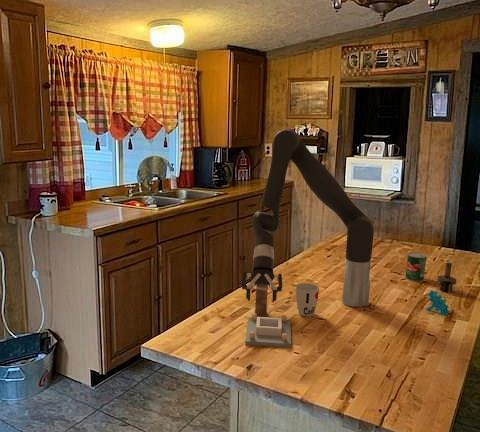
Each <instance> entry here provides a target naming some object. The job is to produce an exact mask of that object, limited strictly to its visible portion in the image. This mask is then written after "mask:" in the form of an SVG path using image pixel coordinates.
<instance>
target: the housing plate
mask: <svg viewBox="0 0 480 432" xmlns="http://www.w3.org/2000/svg"><path fill="white" fill-rule="evenodd" d="M287 317H288V316H287V315H286V314H285V315H281V317H279V318H278V317H269V316H268V317H267V316H266V317H258V316H257V314H255V313H251V317H248V321H247V327H246V333H245V340H244V344H245V346H259V347H260V346H261V347H262V346H263V347H277V348H292V336H291V334H292V333H291V331H292V330H291V320H290V319H288V318H287Z"/></svg>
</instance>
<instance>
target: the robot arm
mask: <svg viewBox="0 0 480 432" xmlns="http://www.w3.org/2000/svg"><path fill="white" fill-rule="evenodd" d="M290 162H292V163H293V164H294V165H295V167H296V168H297V169H298V171H299V172H300V174H301V176H302V178H303V180H304V182H305V183H306V185H307V186H308V188H309V189H310V190H311V191H312V193H313V194H314V195H315V196H316V197H317V199H318V200H320V202H322V203H323V204H324V205H325V206H327V208H329V209H331V211H333V212H334V213H335V214H336V215H337V216H338V218H340V220H341V221H342V223H343V224H344V226H345V227H346V229H347V233H346V244H345V245H346V247H345V258H344V259H345V260H344V261H345V262H344V273H343V284H342V297H341V298H342V299H341V301H342V303H343V304H344V305H346V306H349V307H351V308H353V307H354V308H363V307H369V300H370V289H371V281H370V275H371V274H370V273H371V261H372V253H373V245H374V233H375V232H374V230H375V229H374V225H373V224H374V223H373V222H372V220H371V219H370V218H369V217H368V216H367V215H366V214H365V213H363V212H362V210H361V209H360V208H358V206H356V205H355V203H354V202H353V201H352V200H351V198H350V197H349V195H348V194H347V192H346V191H345V190H344V189H343V187H342V186H341V185H340V183H339V182H338V181H337V180H336V178H335V177H334V176H333V175H332V174H331V172H330V171H329V170H328V169H327V168H326V167H325V166H324V165H323V163H322V162H320V161H319V160H318V158H316V157H315V156H314V155H313V153H312V152H311V151H310V150H309V148H308V147H307V146H306V144H305V143H304V141H303V140H302V138H301V137H300V135H299V134H298V132H296V131H295V130H293V129H290V128H285V129H282V130H279V131H278V132H277V133H276V134H275V135H274V137H273V140H272V155H271V162H270V168H269V172H268V177H267V179H266V183H265V186H264V190H263V194H262V198H261V205H262V206H263V207H264V208H267V209H269V210H271V213H269V212H265V211H256V212H255V213H254V214H253V215H252V217H251V226H252V229H253V234H254V241H255V242H254V251H253V256H252V258H253V259H252V271H251V272H250V273H249V272H247V271H244V272H243V276H242V282H241V289H242V290H245V298H246V300H247V302H250V301H251V290H252V289H254V288H256V285H262V286H268V288H269V289H271V290H272V291H271V292H272V299H271V300H272V303H275V302H276V301H277V295H278V292H281V293H282V291H283V274H282V273H278V274H275V273H274V267H275V266H274V264H275V261H274V260H275V252H274V246H275V245H274V243H275V238H274V237H275V236H274V235H272V233H275V232H277V231H278V229H279V227H280V207H281V206H280V205H281V202H282V197H283V194H284V190H285V184H286V178H287V177H286V176H287V170H288V168H289V167H288V166H289V164H290ZM250 278H251V280H250V283H248V284H247V280H249V279H250ZM274 279H275V280H276V282H277V283H278V286H276V285H275V284H274Z"/></svg>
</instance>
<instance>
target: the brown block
mask: <svg viewBox="0 0 480 432" xmlns="http://www.w3.org/2000/svg"><path fill="white" fill-rule="evenodd" d="M268 288H269V286H268V285H267V286H262V285H255V303H254V304H255V306H254V314H257V317H267V315H268V314H267V312H268V311H267V310H268V291H269V289H268Z"/></svg>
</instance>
